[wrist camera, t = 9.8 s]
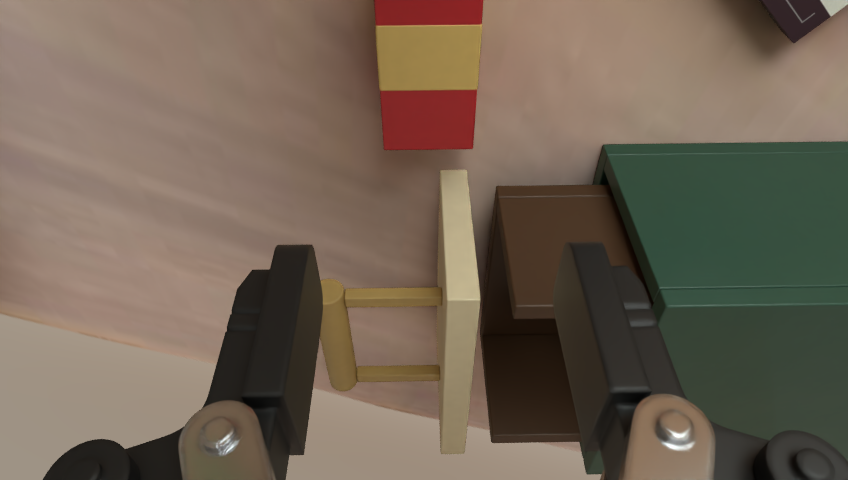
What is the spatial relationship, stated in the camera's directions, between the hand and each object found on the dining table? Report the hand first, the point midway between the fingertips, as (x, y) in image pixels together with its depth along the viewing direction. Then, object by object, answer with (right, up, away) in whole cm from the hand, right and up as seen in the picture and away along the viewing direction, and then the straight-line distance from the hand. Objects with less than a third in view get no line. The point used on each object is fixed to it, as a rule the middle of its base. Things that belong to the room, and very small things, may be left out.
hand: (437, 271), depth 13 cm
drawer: (+4, -1, +17) cm, 18 cm away
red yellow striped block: (0, +9, +9) cm, 12 cm away
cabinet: (+15, 0, +18) cm, 23 cm away
